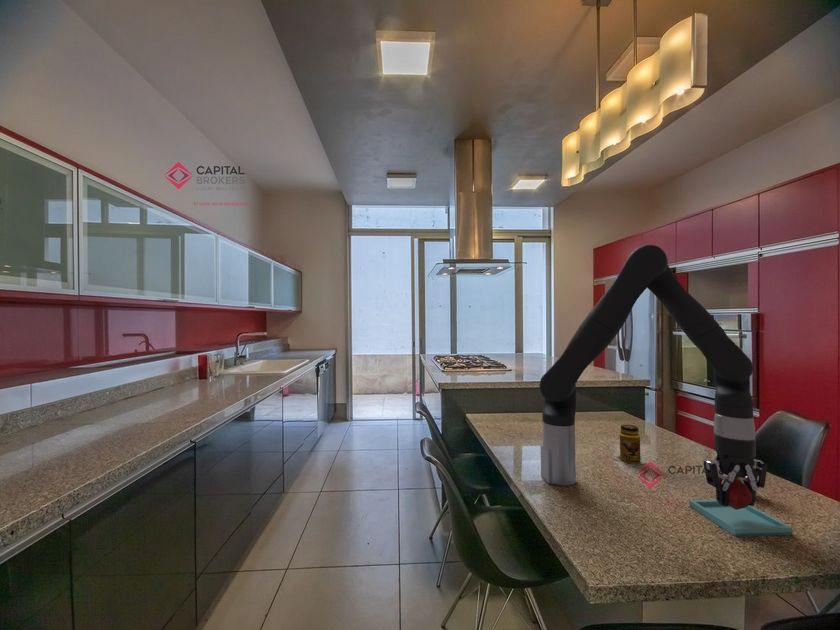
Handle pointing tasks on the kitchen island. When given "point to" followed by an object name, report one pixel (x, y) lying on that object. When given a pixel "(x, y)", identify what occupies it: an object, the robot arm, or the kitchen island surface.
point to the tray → (740, 519)
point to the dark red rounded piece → (738, 495)
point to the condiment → (629, 446)
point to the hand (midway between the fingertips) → (736, 504)
